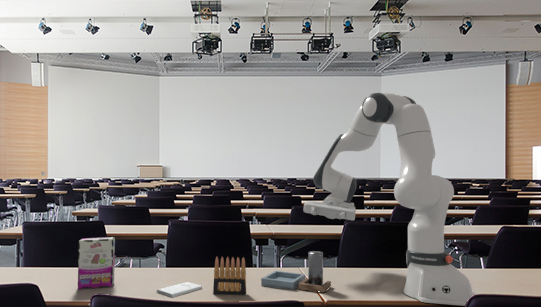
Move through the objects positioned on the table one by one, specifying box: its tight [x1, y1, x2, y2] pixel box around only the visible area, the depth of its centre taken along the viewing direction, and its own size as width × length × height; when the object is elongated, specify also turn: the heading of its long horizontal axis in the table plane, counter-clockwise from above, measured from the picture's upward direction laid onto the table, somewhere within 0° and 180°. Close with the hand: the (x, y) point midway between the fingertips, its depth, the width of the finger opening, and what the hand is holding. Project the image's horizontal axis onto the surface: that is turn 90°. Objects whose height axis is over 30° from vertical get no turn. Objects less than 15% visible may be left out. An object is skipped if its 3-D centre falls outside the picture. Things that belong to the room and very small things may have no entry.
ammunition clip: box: [212, 256, 247, 296], centre depth 125 cm, size 11×2×12 cm, turn 86°
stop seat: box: [298, 277, 332, 293], centre depth 131 cm, size 9×8×2 cm
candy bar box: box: [77, 236, 116, 290], centre depth 133 cm, size 11×5×16 cm, turn 105°
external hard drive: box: [156, 281, 203, 298], centre depth 128 cm, size 2×8×12 cm
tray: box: [260, 270, 306, 291], centre depth 137 cm, size 12×12×2 cm
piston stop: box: [307, 250, 324, 286], centre depth 132 cm, size 5×5×12 cm
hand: (326, 214), depth 143 cm, fingers open, 8 cm apart
